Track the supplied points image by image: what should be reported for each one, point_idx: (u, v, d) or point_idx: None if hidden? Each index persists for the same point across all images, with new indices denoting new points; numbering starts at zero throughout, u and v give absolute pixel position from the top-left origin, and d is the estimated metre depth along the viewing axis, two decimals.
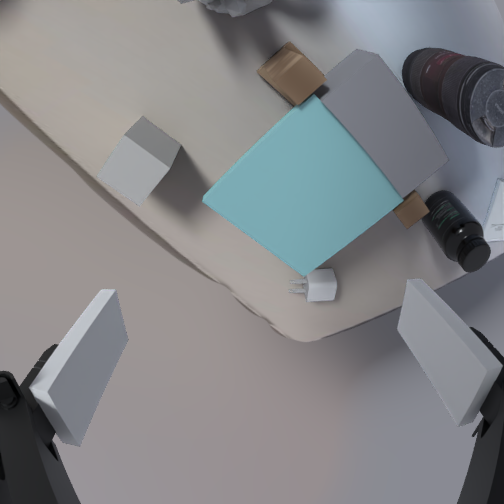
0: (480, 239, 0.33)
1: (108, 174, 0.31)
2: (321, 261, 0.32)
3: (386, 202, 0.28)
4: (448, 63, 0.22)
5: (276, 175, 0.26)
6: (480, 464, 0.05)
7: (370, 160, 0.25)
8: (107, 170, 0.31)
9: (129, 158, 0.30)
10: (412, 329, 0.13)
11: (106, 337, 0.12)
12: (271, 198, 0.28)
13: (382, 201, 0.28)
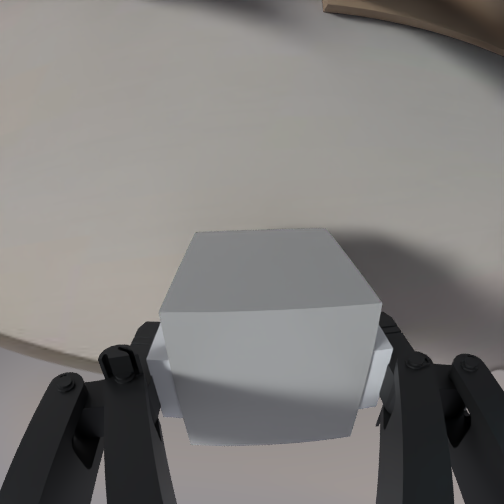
0: None
1: (214, 428, 0.10)
2: None
3: None
4: None
5: None
6: (388, 459, 0.07)
7: None
8: (203, 422, 0.10)
9: (234, 365, 0.09)
10: None
11: None
12: None
13: None
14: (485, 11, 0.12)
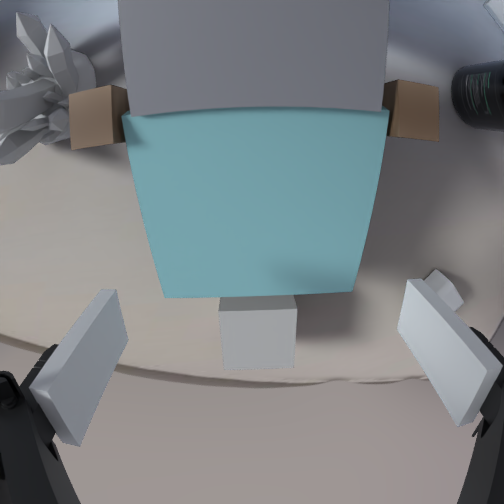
0: None
1: None
2: (355, 264, 0.21)
3: (366, 135, 0.15)
4: None
5: (193, 226, 0.18)
6: (480, 464, 0.05)
7: (277, 108, 0.14)
8: None
9: None
10: (412, 328, 0.13)
11: (106, 337, 0.12)
12: (217, 250, 0.20)
13: (358, 140, 0.15)
14: None
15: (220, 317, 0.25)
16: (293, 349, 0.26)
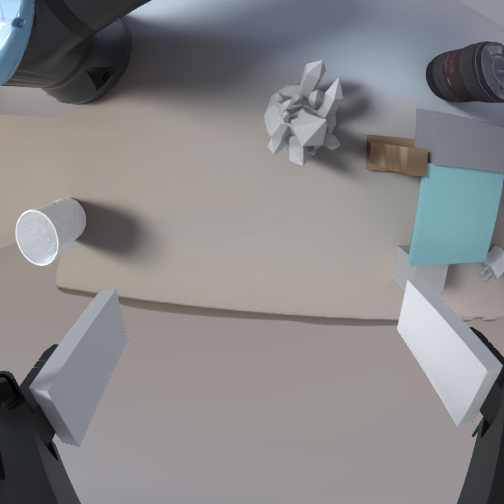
0: None
1: None
2: (488, 245, 0.36)
3: (497, 183, 0.32)
4: (456, 69, 0.29)
5: (438, 221, 0.34)
6: (480, 464, 0.05)
7: (475, 170, 0.31)
8: None
9: None
10: (412, 329, 0.13)
11: (106, 338, 0.12)
12: (443, 235, 0.35)
13: (495, 185, 0.32)
14: None
15: (417, 266, 0.42)
16: (443, 285, 0.43)
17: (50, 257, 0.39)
